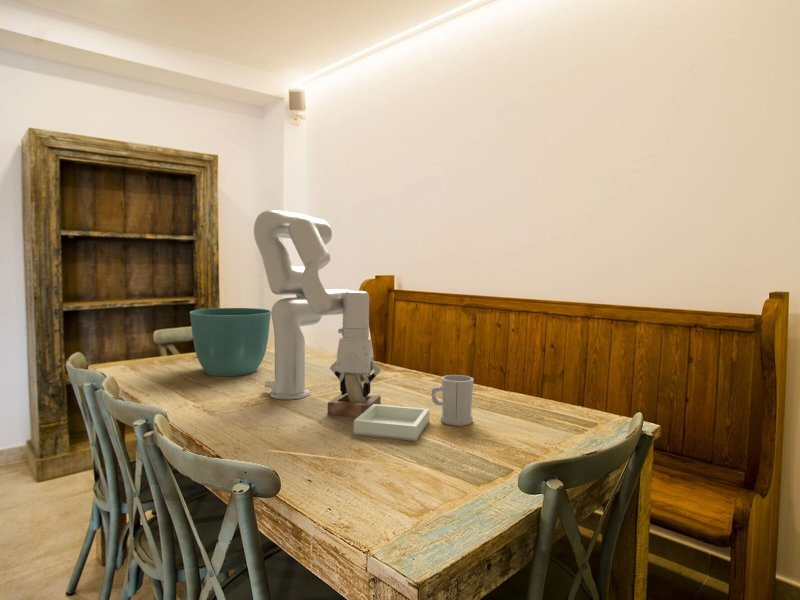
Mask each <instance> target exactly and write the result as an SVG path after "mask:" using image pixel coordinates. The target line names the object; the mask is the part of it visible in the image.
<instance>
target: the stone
mask: <svg viewBox="0 0 800 600" xmlns="http://www.w3.org/2000/svg"><path fill="white" fill-rule="evenodd" d="M345 386H346V390H347V394H348V396H349V399H350V402H353V403H365V402H366V398H365V397H364V396H363V383H362V380H361V378H359V375H358V374H352V373H346V375H345Z"/></svg>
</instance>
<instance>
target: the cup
mask: <svg viewBox="0 0 800 600" xmlns="http://www.w3.org/2000/svg"><path fill="white" fill-rule="evenodd" d="M440 378H441V379H440V381H441V385H437V386H434V387H432V389H431V401H432V403H433V404H434V405H436V406H441V408H442V410H441V414H440V421H441V423H442V424H446V425H447V426H456V427H462V426H463V427H464V426H468V425H470V424H472V423H473V421H474V417H473V415H472V405H473V404H472V403H473V400H472V399H473V391H474V390H473V389H474V382H475V381H474V380H475V379H474V377H471V376H469V375H463V374H462V375H461V374H460V375H459V374H450V375H449V374H448V375H444V376H442V377H440ZM438 392H441V398H442V400H440V399H438V397H437V395H436V394H437V393H438Z"/></svg>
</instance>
